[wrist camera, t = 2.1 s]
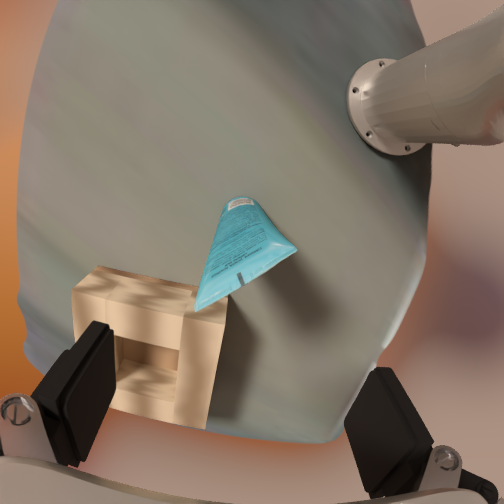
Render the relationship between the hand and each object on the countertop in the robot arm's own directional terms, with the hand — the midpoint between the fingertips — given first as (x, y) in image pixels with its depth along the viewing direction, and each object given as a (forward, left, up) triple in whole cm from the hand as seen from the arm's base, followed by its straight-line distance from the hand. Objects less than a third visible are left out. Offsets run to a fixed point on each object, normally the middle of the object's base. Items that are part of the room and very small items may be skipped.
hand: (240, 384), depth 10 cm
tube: (0, 0, -29) cm, 29 cm away
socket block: (+9, +19, -28) cm, 35 cm away
